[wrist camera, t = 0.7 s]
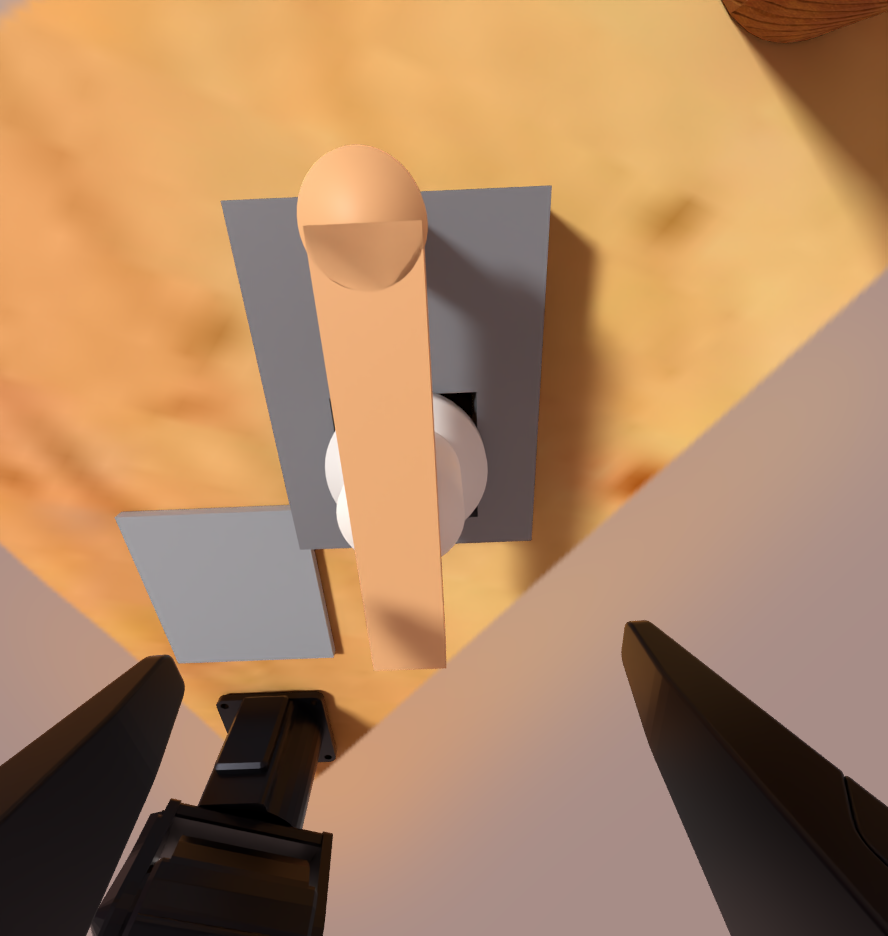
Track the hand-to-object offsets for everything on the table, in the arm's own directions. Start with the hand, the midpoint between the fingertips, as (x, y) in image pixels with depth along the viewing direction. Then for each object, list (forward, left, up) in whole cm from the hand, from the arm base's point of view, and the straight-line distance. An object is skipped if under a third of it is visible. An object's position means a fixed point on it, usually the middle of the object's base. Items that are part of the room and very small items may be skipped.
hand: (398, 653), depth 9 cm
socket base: (+2, 0, -13) cm, 13 cm away
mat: (-9, +10, -13) cm, 18 cm away
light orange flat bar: (+2, 0, -5) cm, 5 cm away
